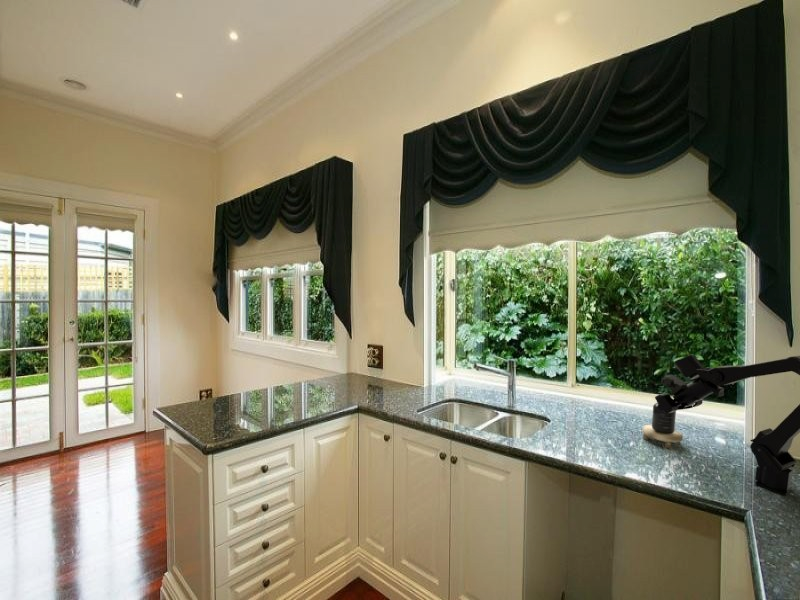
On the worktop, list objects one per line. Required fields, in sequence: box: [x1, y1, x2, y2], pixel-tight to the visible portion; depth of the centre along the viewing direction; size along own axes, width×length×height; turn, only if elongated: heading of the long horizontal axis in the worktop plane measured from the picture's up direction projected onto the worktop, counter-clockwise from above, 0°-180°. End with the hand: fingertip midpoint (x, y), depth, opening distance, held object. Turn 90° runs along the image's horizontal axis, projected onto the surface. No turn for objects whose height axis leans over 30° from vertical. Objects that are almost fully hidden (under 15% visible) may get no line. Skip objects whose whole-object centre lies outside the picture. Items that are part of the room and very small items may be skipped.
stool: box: [641, 424, 684, 449], centre depth 138 cm, size 12×12×4 cm
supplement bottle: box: [651, 401, 677, 434], centre depth 137 cm, size 7×7×12 cm
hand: (660, 411), depth 138 cm, fingers closed on supplement bottle, 7 cm apart
